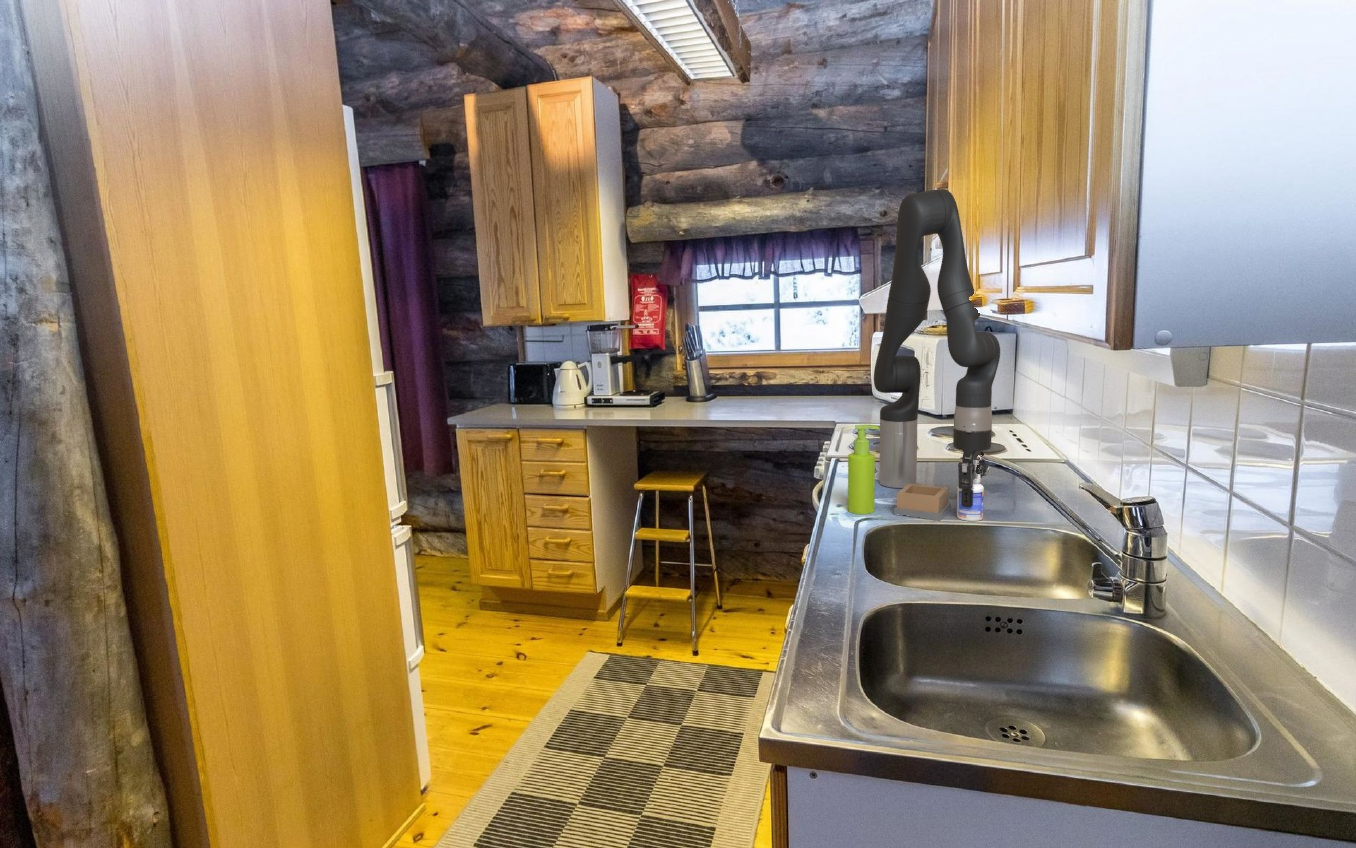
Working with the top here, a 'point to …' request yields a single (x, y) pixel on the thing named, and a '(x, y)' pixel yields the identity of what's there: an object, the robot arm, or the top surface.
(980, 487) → the pill bottle
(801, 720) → the top surface
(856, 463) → the soap dispenser
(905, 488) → the box
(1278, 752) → the top surface
